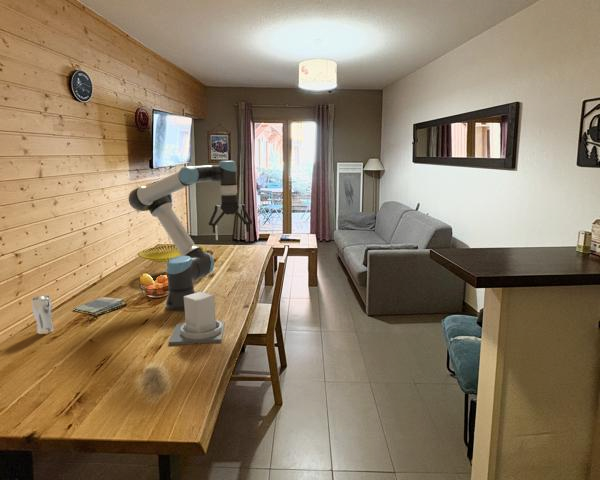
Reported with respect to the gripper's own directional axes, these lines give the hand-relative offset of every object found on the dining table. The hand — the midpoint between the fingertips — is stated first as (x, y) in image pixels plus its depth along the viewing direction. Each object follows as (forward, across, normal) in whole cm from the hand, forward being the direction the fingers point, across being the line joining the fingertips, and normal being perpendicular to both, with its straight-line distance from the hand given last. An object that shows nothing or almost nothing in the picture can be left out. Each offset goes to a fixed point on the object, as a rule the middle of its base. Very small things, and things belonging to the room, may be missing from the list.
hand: (231, 239), depth 209 cm
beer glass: (+32, -77, -25) cm, 87 cm away
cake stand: (+32, -39, +58) cm, 77 cm away
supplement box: (+31, -12, -36) cm, 49 cm away
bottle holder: (+32, -13, -36) cm, 50 cm away
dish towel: (+32, -64, +3) cm, 72 cm away
